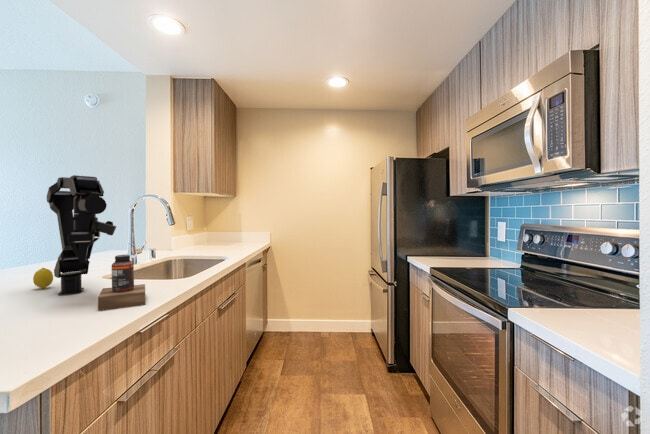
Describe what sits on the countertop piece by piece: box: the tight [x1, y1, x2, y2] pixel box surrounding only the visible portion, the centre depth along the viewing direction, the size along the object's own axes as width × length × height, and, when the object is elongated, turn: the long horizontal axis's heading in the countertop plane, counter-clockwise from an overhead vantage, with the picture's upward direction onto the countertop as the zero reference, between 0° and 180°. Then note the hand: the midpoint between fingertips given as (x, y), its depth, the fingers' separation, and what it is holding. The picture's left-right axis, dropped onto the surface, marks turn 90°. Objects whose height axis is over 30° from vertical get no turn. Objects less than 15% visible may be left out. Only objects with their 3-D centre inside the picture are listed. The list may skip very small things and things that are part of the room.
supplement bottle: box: [111, 254, 135, 292], centre depth 97 cm, size 6×6×11 cm
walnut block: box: [97, 283, 146, 312], centre depth 98 cm, size 12×12×4 cm
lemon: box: [32, 267, 54, 290], centre depth 114 cm, size 6×6×8 cm
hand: (85, 260), depth 100 cm, fingers open, 9 cm apart
